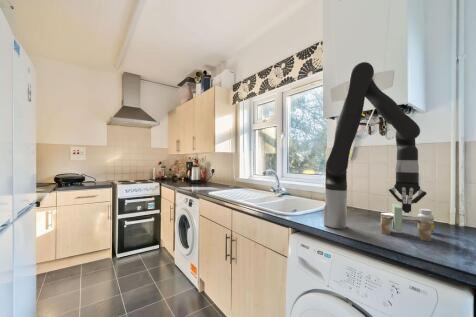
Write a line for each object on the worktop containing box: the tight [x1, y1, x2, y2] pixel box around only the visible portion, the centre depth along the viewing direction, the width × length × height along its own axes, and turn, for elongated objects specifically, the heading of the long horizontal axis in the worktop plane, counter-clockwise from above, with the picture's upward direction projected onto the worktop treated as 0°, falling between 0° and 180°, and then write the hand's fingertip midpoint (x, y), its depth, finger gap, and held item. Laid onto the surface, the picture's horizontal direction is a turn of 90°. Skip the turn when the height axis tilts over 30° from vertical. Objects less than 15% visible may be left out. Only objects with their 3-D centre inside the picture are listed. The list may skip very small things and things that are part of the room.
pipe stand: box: [380, 215, 432, 242], centre depth 89 cm, size 16×6×7 cm, turn 59°
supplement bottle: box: [417, 208, 435, 235], centre depth 94 cm, size 5×5×10 cm
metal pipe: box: [380, 212, 430, 224], centre depth 89 cm, size 16×3×3 cm, turn 59°
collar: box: [391, 203, 403, 234], centre depth 91 cm, size 2×10×10 cm, turn 149°
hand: (406, 212), depth 89 cm, fingers closed
